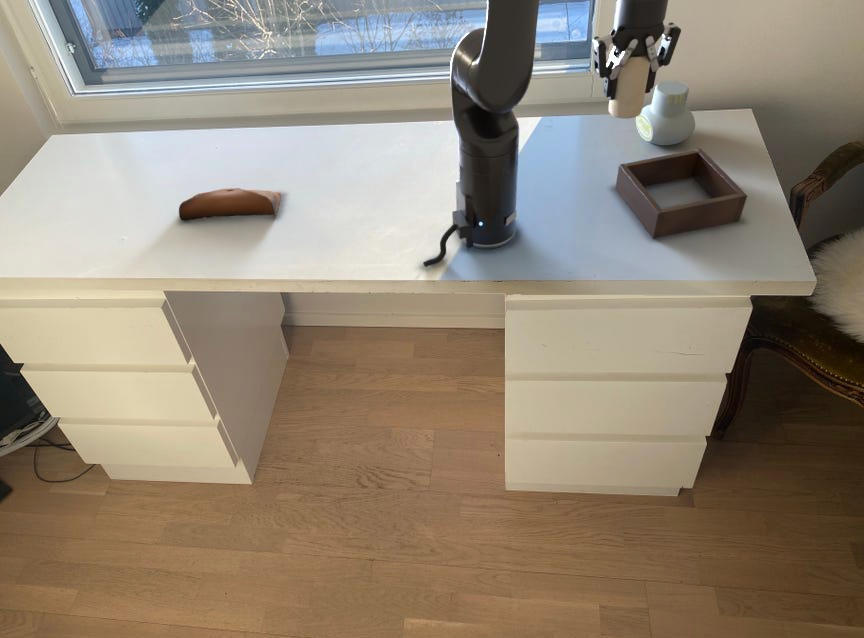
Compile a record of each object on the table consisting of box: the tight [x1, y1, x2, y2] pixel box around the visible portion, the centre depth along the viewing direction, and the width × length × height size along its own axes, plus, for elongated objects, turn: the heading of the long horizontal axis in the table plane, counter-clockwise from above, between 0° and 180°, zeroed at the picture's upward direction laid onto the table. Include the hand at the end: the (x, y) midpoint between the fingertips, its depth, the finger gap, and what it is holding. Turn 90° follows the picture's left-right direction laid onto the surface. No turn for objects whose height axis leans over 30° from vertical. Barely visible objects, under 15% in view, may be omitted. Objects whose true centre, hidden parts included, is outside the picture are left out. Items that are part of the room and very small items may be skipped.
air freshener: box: [635, 80, 696, 146], centre depth 134 cm, size 11×8×10 cm
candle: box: [608, 55, 650, 119], centre depth 119 cm, size 6×6×10 cm
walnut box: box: [614, 148, 748, 239], centre depth 121 cm, size 15×15×5 cm
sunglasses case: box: [178, 187, 282, 221], centre depth 134 cm, size 18×7×7 cm
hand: (627, 94), depth 120 cm, fingers closed on candle, 5 cm apart
